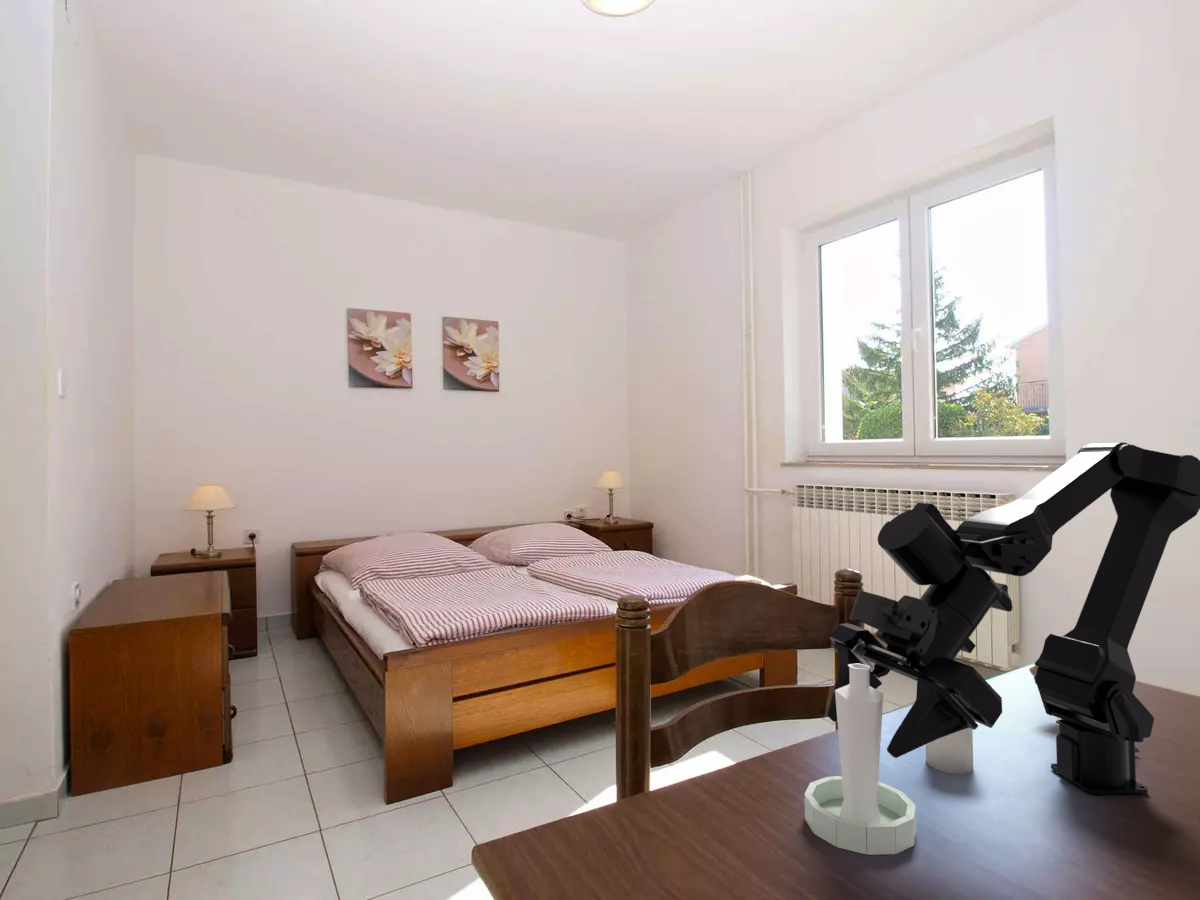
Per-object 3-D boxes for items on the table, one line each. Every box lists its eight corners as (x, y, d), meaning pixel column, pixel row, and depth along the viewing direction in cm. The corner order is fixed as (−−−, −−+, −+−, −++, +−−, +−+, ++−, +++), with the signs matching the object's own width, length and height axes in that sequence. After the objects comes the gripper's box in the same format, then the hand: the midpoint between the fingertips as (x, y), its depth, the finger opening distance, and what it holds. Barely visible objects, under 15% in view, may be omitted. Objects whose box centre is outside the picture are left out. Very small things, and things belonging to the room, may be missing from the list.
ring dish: (887, 799, 71) (886, 775, 72) (935, 853, 61) (935, 825, 62) (793, 800, 71) (793, 777, 71) (827, 855, 61) (826, 827, 61)
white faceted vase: (896, 830, 64) (894, 672, 65) (851, 832, 64) (850, 673, 65) (873, 806, 69) (871, 659, 69) (831, 808, 69) (830, 660, 69)
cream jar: (958, 754, 82) (957, 698, 82) (983, 773, 77) (982, 714, 77) (916, 755, 82) (915, 699, 82) (938, 774, 77) (937, 714, 77)
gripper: (841, 552, 77) (758, 657, 74) (972, 577, 59) (870, 718, 56) (901, 615, 79) (822, 720, 76) (1045, 658, 61) (950, 798, 58)
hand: (858, 735), depth 67 cm, fingers open, 9 cm apart
